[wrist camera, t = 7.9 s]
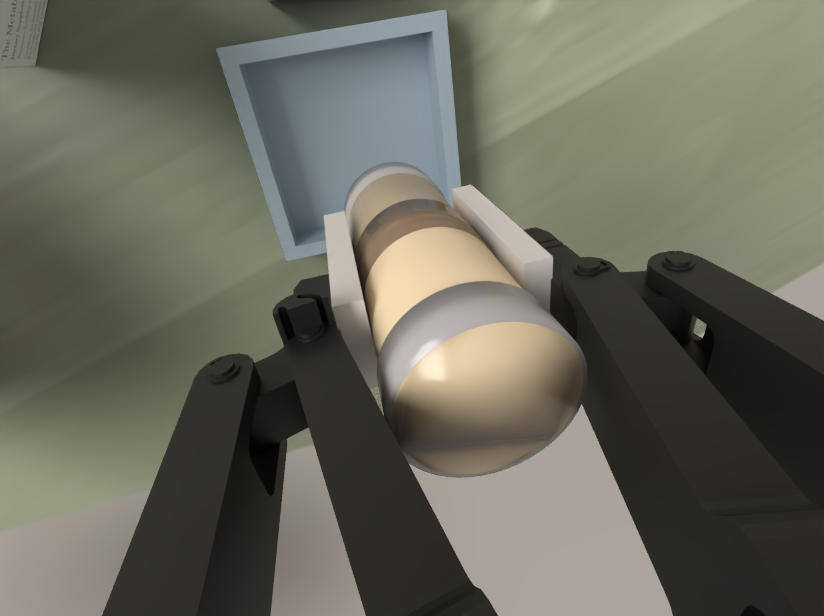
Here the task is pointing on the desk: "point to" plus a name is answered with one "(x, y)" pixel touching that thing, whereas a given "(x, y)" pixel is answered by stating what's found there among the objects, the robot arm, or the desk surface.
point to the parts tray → (343, 115)
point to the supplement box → (20, 31)
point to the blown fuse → (455, 333)
